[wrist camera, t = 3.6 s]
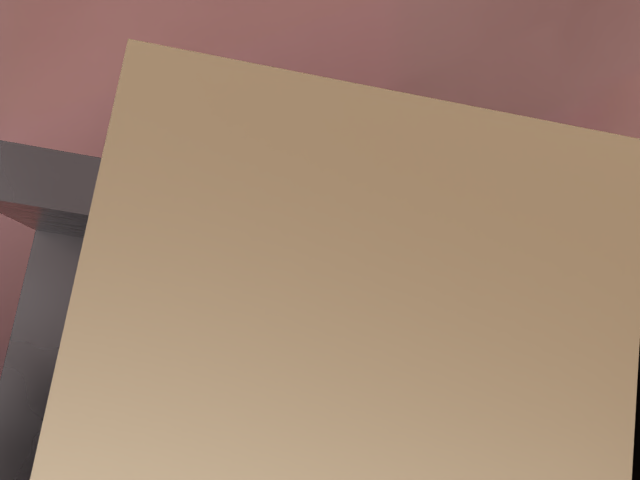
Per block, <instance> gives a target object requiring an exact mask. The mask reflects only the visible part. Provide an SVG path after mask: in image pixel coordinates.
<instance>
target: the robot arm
mask: <svg viewBox="0 0 640 480" xmlns="http://www.w3.org/2000/svg"><path fill="white" fill-rule="evenodd" d="M632 480H640V344H639V361H638V379H637V396H636V413H635V431H634V448H633V466H632Z"/></svg>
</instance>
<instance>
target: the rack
mask: <svg viewBox="0 0 640 480" xmlns="http://www.w3.org/2000/svg"><path fill="white" fill-rule="evenodd" d="M100 163H101V158H98V157H92V156H86V155H81V154H75V153H69V152H64V151H58V150H52V149H47V148H41V147H35V146H30V145H24V144H18V143H13V142H7V141H2V140H0V213H1V214H3V215H5V216H7V217H10V218H12V219H14V220H16V221H18V222H20V223H22V224H24V225H26V226H28V227H30V228H33V229H35V230H36V232H35V236H34V240H33V244H32V248H31V253H30V257H29V261H28V265H27V269H26V274H25V278H24V282H23V286H22V290H21V295H20V299H19V303H18V307H17V311H16V316H15V320H14V324H13V328H12V333H11V337H10V341H9V345H8V349H7V354H6V358H5V362H4V366H3V370H2V375H1V379H0V480H30V477H31V472H32V468H33V463H34V459H35V454H36V450H37V445H38V441H39V436H40V432H41V428H42V423H43V419H44V414H45V410H46V405H47V401H48V396H49V392H50V387H51V383H52V378H53V374H54V369H55V365H56V360H57V356H58V351H59V347H60V342H61V338H62V333H63V329H64V324H65V320H66V315H67V311H68V306H69V302H70V297H71V293H72V288H73V284H74V279H75V275H76V270H77V266H78V262H79V257H80V253H81V248H82V244H83V239H84V235H85V230H86V226H87V221H88V217H89V212H90V208H91V203H92V199H93V194H94V190H95V185H96V181H97V176H98V172H99V167H100Z"/></svg>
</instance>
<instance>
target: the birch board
mask: <svg viewBox="0 0 640 480" xmlns="http://www.w3.org/2000/svg"><path fill="white" fill-rule="evenodd" d="M639 344H640V139H638V138H633V137H628V136H623V135H618V134H612V133H607V132H602V131H597V130H592V129H587V128H582V127H577V126H572V125H566V124H561V123H556V122H551V121H546V120H541V119H536V118H531V117H526V116H521V115H515V114H510V113H505V112H500V111H495V110H490V109H485V108H480V107H475V106H469V105H464V104H459V103H454V102H449V101H444V100H439V99H434V98H429V97H424V96H418V95H413V94H408V93H403V92H398V91H393V90H388V89H383V88H378V87H372V86H367V85H362V84H357V83H352V82H347V81H342V80H337V79H332V78H326V77H321V76H316V75H311V74H306V73H301V72H296V71H291V70H286V69H281V68H275V67H270V66H265V65H260V64H255V63H250V62H245V61H240V60H235V59H229V58H224V57H219V56H214V55H209V54H204V53H199V52H194V51H189V50H183V49H178V48H173V47H168V46H163V45H158V44H153V43H148V42H143V41H138V40H132V39H128V42H127V46H126V51H125V55H124V60H123V64H122V69H121V73H120V78H119V82H118V87H117V91H116V96H115V100H114V105H113V109H112V113H111V118H110V122H109V127H108V131H107V136H106V140H105V145H104V149H103V154H102V158H101V163H100V167H99V172H98V176H97V181H96V185H95V190H94V194H93V199H92V203H91V208H90V212H89V217H88V221H87V226H86V230H85V235H84V239H83V244H82V248H81V253H80V257H79V262H78V266H77V270H76V275H75V279H74V284H73V288H72V293H71V297H70V302H69V306H68V311H67V315H66V320H65V324H64V329H63V333H62V338H61V342H60V347H59V351H58V356H57V360H56V365H55V369H54V374H53V378H52V383H51V387H50V392H49V396H48V401H47V405H46V410H45V414H44V419H43V423H42V428H41V432H40V436H39V441H38V445H37V450H36V454H35V459H34V463H33V468H32V472H31V477H30V480H632V466H633V448H634V431H635V413H636V396H637V379H638V361H639Z"/></svg>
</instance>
